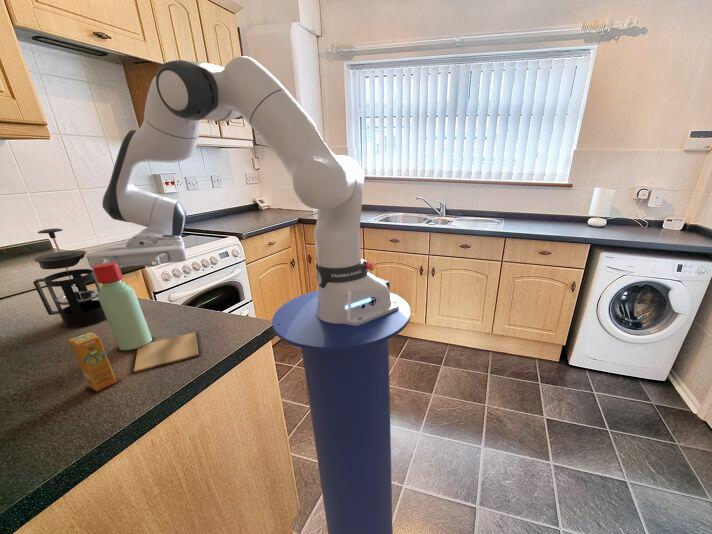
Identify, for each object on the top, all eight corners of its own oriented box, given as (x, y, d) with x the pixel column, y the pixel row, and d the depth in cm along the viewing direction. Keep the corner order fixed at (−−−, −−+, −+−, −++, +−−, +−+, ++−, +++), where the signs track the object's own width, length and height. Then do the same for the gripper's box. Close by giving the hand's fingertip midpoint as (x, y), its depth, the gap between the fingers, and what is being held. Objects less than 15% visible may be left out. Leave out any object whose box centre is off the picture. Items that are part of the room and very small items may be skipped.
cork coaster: (195, 333, 79) (195, 332, 79) (198, 355, 70) (198, 354, 70) (138, 346, 74) (138, 345, 73) (134, 372, 65) (133, 370, 65)
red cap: (124, 276, 72) (118, 261, 71) (121, 280, 69) (115, 264, 67) (100, 280, 70) (94, 265, 69) (96, 284, 67) (90, 268, 65)
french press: (117, 307, 92) (85, 223, 83) (110, 321, 85) (74, 230, 75) (61, 317, 87) (19, 228, 78) (48, 332, 79) (1, 236, 70)
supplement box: (97, 392, 60) (74, 344, 56) (88, 386, 61) (66, 339, 57) (118, 382, 62) (98, 335, 58) (109, 376, 64) (89, 330, 60)
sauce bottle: (153, 334, 78) (126, 261, 72) (151, 344, 73) (122, 267, 67) (121, 342, 75) (90, 267, 69) (117, 353, 71) (83, 273, 64)
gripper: (96, 241, 86) (70, 255, 74) (187, 235, 93) (177, 247, 81) (105, 264, 88) (81, 282, 77) (193, 257, 95) (183, 272, 83)
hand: (131, 264), depth 79 cm, fingers open, 8 cm apart
